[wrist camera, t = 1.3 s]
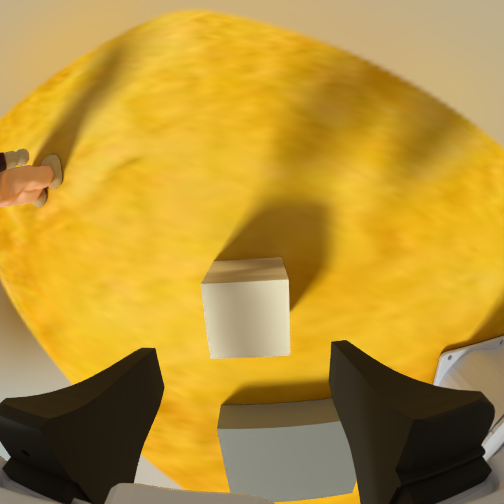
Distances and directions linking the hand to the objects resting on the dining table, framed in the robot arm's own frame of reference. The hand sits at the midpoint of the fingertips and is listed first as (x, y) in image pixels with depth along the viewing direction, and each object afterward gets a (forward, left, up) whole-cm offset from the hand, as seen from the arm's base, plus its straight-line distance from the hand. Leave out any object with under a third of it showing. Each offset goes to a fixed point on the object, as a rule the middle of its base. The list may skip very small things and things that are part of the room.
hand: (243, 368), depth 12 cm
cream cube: (0, 0, -10) cm, 10 cm away
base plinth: (-3, +16, -9) cm, 19 cm away
